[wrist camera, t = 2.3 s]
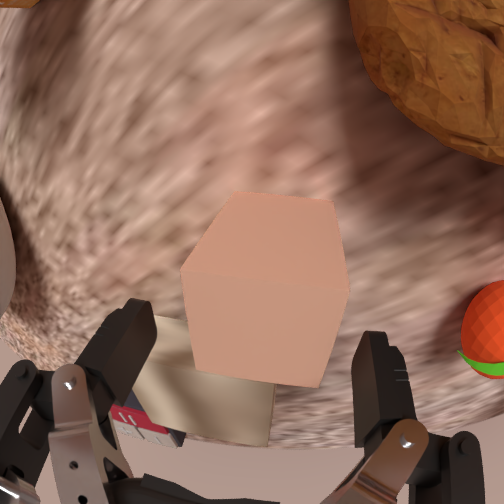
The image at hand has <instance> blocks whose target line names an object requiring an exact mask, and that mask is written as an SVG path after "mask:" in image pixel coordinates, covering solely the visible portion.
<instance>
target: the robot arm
mask: <svg viewBox="0 0 504 504" xmlns="http://www.w3.org/2000/svg"><path fill="white" fill-rule="evenodd" d="M156 339H157V326H156V322H155V318H154V314H153V310H152V306H151V303H150V302H149V301H144V300H139V299H135V298H130V299H129V300H128V301H127V303H126V304H125V305H124V307H123V308H122V309H119V308H118V309H116V310H115V311H114V312H112V313H111V314H109V315H108V316H107V317H106V319H105V320H104V322H103V323H102V324H101V327H99V329H98V330H97V331H96V334H95V335H94V336H93V337H92V338H91V340H90V341H89V343H88V344H87V346H86V347H85V349H84V350H83V352H82V353H81V355H80V356H79V357H78V359H77V360H76V362H75V363H74V364H66V365H63V366H61V367H60V368H58V369H57V370H56V371H44V370H38V369H37V367H36V366H35V365H34V363H33V362H32V361H30V360H20V361H18V362H17V363H15V364H14V365H13V366H12V368H11V369H10V370H9V372H8V374H7V375H6V377H5V379H4V380H3V382H2V383H1V385H0V504H40V498H39V496H38V495H37V494H36V491H35V486H36V483H37V481H38V478H39V476H40V473H41V470H42V468H43V466H44V463H45V461H46V458H47V456H48V454H49V451H50V454H51V460H52V466H53V471H54V476H55V481H56V485H57V490H58V494H59V498H60V502H61V504H280V502H271V501H262V500H254V499H247V498H243V499H242V498H241V499H206V498H203V497H201V496H199V495H197V494H195V493H193V492H191V491H189V490H187V489H185V488H184V487H182V486H180V485H178V484H176V483H174V482H170V481H167V480H164V479H161V478H157V477H154V476H152V475H149V474H144V476H143V478H134V476H133V474H132V471H131V469H130V466H129V464H128V462H127V461H126V459H125V457H124V456H123V454H122V451H121V448H120V444H119V441H118V437H117V434H116V430H115V426H114V422H113V419H112V414H111V411H110V409H111V407H112V405H113V404H114V405H117V406H120V407H122V408H123V406H124V404H125V402H126V400H127V398H128V396H129V394H130V392H131V390H132V388H133V386H134V384H135V382H136V380H137V378H138V376H139V374H140V372H141V370H142V368H143V366H144V364H145V362H146V360H147V358H148V356H149V354H150V352H151V350H152V348H153V347H154V345H155V342H156ZM406 370H407V369H406V364H405V360H404V357H403V355H402V354H401V352H400V351H399V350H398V348H397V347H396V346H389V343H388V338H387V335H386V333H385V332H381V331H365V332H364V333H363V336H362V338H361V340H360V343H359V345H358V348H357V350H356V352H355V355H354V357H353V361H352V367H351V375H352V389H353V406H354V432H355V448H362V447H364V456H363V457H362V459H361V460H360V461H359V462H358V463H357V465H356V466H355V467H354V469H353V470H352V471H351V472H350V473H349V474H348V476H347V477H346V478H345V479H344V480H343V481H342V482H341V483H340V484H339V486H338V487H337V488H336V489H335V490H334V491H333V492H332V493H331V494H330V495H329V496H328V497H327V498H325V499H324V500H323V501H322V502H321V503H320V504H397V499H396V497H397V495H398V493H399V491H400V490H401V489H402V487H403V486H404V484H405V483H406V484H409V504H485V488H484V475H483V465H482V457H481V451H480V444H479V441H478V439H477V438H476V436H474V435H473V434H472V433H470V432H468V431H461V432H459V433H457V434H455V435H454V436H453V437H452V438H450V437H445V436H440V435H436V434H432V433H429V432H428V431H427V429H426V428H425V426H424V425H423V424H422V423H420V422H419V421H418V420H417V418H416V413H415V407H414V402H413V397H412V392H411V387H410V382H409V381H408V380H409V377H408V373H407V372H406ZM29 406H31V407H32V411H31V413H30V415H29V417H28V419H27V421H26V423H25V424H24V427H23V428H22V431H21V432H20V434H19V425H20V423H21V421H22V419H23V418H24V416H25V414H26V412H27V410H28V408H29Z"/></svg>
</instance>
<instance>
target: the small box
mask: <svg viewBox="0 0 504 504" xmlns="http://www.w3.org/2000/svg"><path fill="white" fill-rule="evenodd" d="M39 1H40V0H0V8H31V7H32V6H34V5H35V4H36V3H37V2H39Z"/></svg>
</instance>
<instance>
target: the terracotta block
mask: <svg viewBox="0 0 504 504" xmlns="http://www.w3.org/2000/svg"><path fill="white" fill-rule="evenodd" d="M180 273H181V281H182V288H183V295H184V302H185V309H186V315H187V321H188V328H189V334H190V339H191V345H192V351H193V356H194V362H195V367H196V370H200V371H205V372H210V373H215V374H220V375H225V376H231V377H236V378H242V379H248V380H255V381H262V382H269V383H276V384H284V385H293V386H303V387H314V388H319V385H320V382H321V380H322V377H323V374H324V372H325V369H326V366H327V363H328V360H329V357H330V354H331V352H332V349H333V346H334V343H335V339H336V336H337V333H338V330H339V327H340V324H341V320H342V317H343V314H344V310H345V307H346V304H347V300H348V297H349V293H350V286H349V280H348V274H347V268H346V262H345V257H344V251H343V246H342V241H341V236H340V231H339V226H338V221H337V217H336V212H335V208H334V203H333V201H328V200H320V199H311V198H302V197H293V196H283V195H273V194H262V193H250V192H238V191H234V193H233V194H232V196H231V197H230V198H229V200H228V201H227V202H226V204H225V205H224V207H223V208H222V209H221V211H220V212H219V214H218V215H217V216H216V218H215V219H214V221H213V222H212V224H211V225H210V226H209V228H208V229H207V231H206V232H205V233H204V235H203V236H202V238H201V239H200V241H199V242H198V244H197V245H196V247H195V248H194V249H193V251H192V252H191V254H190V255H189V257H188V258H187V260H186V261H185V263H184V264H183V266H182V267H181V269H180Z"/></svg>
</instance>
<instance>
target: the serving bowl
mask: <svg viewBox="0 0 504 504" xmlns="http://www.w3.org/2000/svg"><path fill="white" fill-rule="evenodd" d="M15 279H16V257H15V249H14V243H13V238H12V234H11V229H10V226H9V222H8V219H7V216H6V213H5V210H4V207H3V204H2V201H1V199H0V318H1V317H2V315H3V314H4V312H5V311H6V309H7V307H8V305H9V303H10V301H11V298H12V295H13V291H14V287H15Z"/></svg>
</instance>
